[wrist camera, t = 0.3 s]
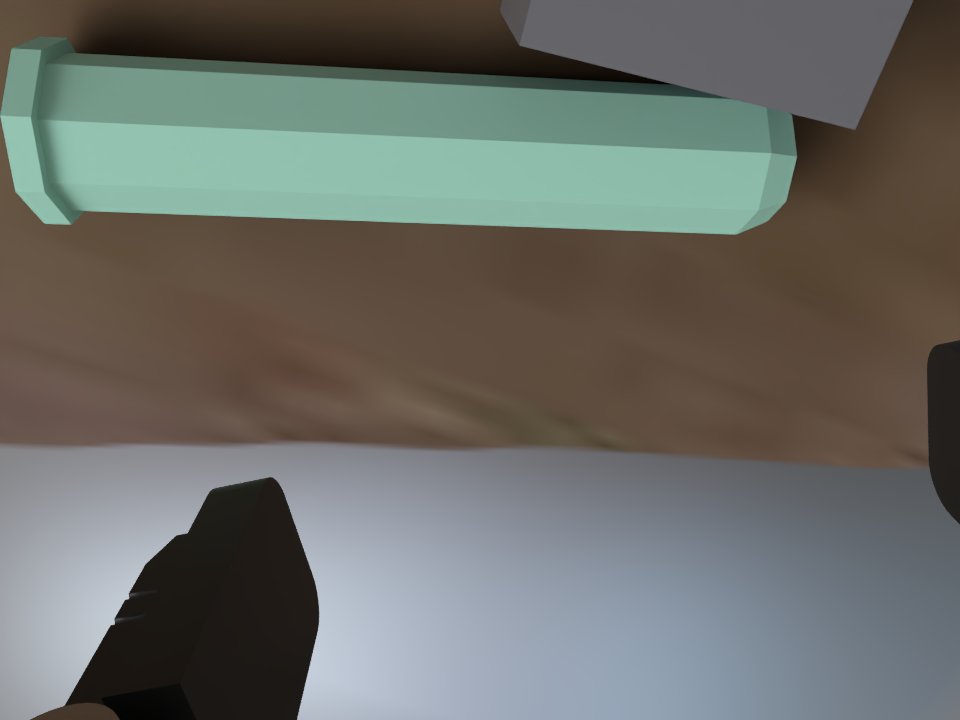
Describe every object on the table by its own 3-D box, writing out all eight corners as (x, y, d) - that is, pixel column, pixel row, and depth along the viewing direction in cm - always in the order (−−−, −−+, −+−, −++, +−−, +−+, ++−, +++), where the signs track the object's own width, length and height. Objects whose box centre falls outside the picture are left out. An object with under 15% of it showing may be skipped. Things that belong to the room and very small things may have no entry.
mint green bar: (846, 148, 26) (-20, 108, 24) (776, 283, 31) (45, 261, 28) (793, 41, 30) (38, -4, 27) (738, 175, 34) (88, 147, 32)
